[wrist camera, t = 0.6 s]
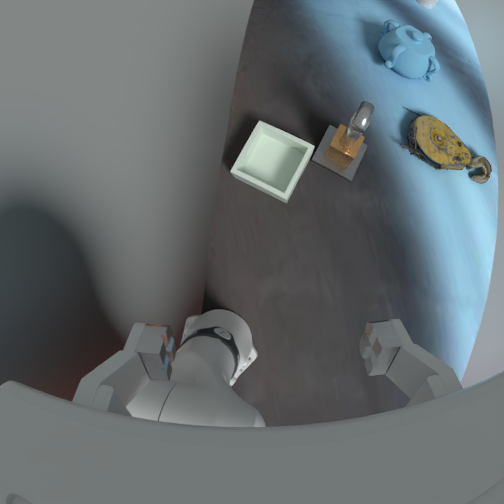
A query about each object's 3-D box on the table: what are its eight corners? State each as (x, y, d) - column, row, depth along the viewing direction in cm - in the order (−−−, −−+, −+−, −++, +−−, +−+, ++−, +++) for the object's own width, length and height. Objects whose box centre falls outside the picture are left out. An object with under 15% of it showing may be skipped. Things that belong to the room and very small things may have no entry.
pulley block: (495, 197, 48) (405, 141, 51) (483, 202, 54) (396, 152, 57) (495, 153, 49) (410, 99, 52) (484, 160, 55) (402, 111, 58)
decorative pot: (425, 54, 54) (442, 30, 40) (427, 92, 55) (448, 69, 41) (376, 34, 55) (387, 6, 42) (374, 71, 57) (388, 42, 43)
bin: (286, 203, 61) (286, 199, 55) (235, 177, 62) (230, 171, 56) (312, 154, 60) (314, 146, 54) (261, 130, 61) (259, 120, 55)
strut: (346, 167, 58) (374, 136, 37) (324, 155, 58) (342, 118, 38) (355, 148, 57) (385, 110, 37) (334, 136, 58) (354, 93, 37)
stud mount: (349, 181, 59) (358, 174, 52) (311, 160, 60) (314, 150, 53) (366, 146, 58) (375, 136, 51) (328, 126, 59) (333, 113, 52)
